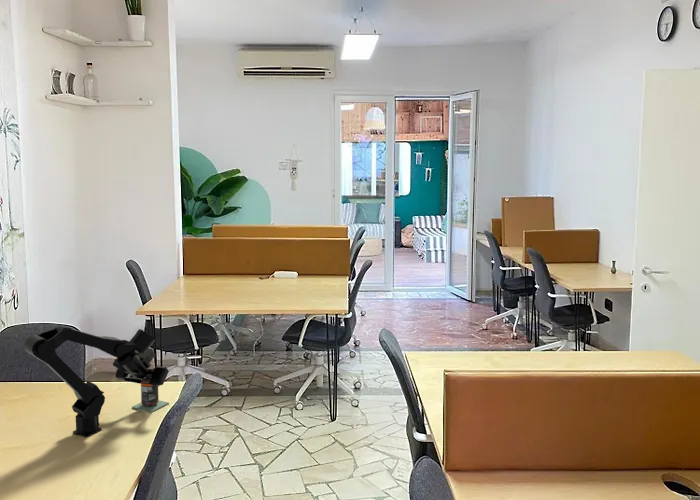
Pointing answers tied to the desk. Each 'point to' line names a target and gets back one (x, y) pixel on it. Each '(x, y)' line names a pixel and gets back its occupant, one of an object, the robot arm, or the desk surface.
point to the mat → (150, 406)
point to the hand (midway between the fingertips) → (151, 384)
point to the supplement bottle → (148, 392)
